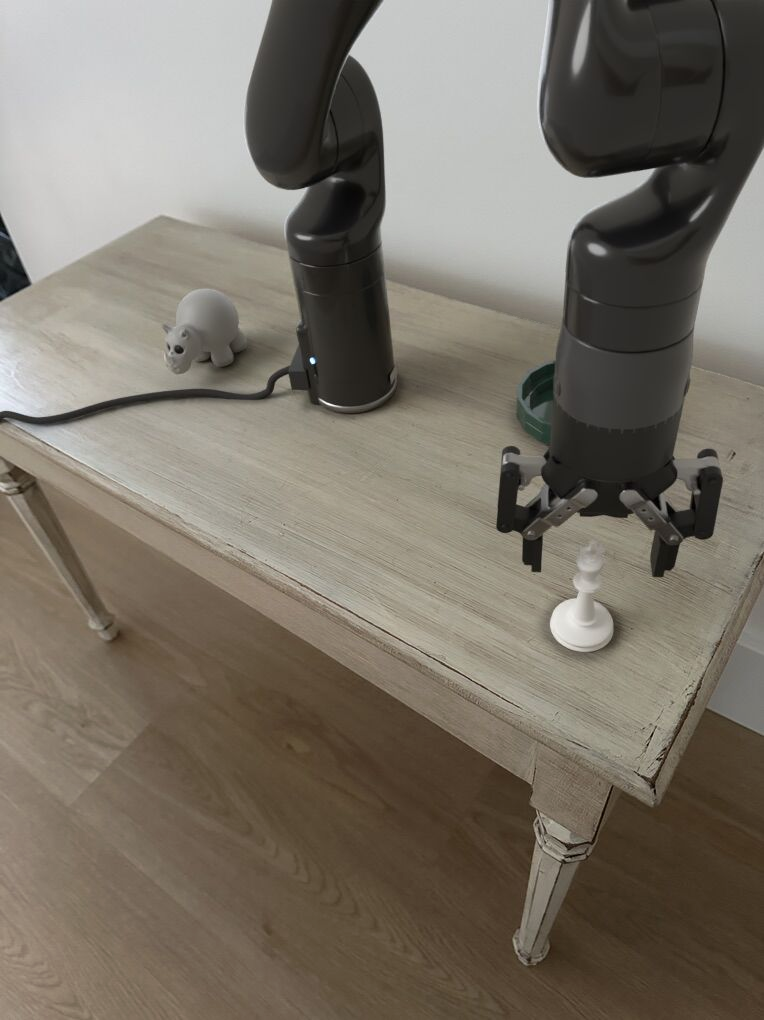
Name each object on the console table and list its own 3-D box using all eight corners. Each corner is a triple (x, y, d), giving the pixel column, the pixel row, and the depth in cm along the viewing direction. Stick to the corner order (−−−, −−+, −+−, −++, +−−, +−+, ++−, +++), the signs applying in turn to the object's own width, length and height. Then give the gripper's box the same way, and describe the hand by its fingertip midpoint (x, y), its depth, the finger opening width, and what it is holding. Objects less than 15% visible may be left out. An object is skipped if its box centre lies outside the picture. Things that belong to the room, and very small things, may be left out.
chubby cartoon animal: (151, 388, 93) (128, 325, 87) (211, 334, 100) (193, 272, 94) (200, 401, 90) (180, 337, 84) (258, 344, 97) (243, 281, 91)
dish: (514, 451, 79) (515, 428, 77) (518, 380, 87) (519, 357, 85) (640, 455, 77) (644, 431, 75) (631, 381, 85) (635, 358, 83)
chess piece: (543, 606, 65) (550, 521, 58) (603, 598, 65) (617, 513, 58) (558, 656, 61) (567, 572, 54) (621, 648, 61) (638, 563, 54)
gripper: (736, 348, 48) (690, 532, 59) (499, 349, 51) (499, 526, 62) (759, 426, 43) (704, 612, 54) (494, 423, 45) (494, 601, 57)
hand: (595, 566), depth 58 cm, fingers open, 8 cm apart
